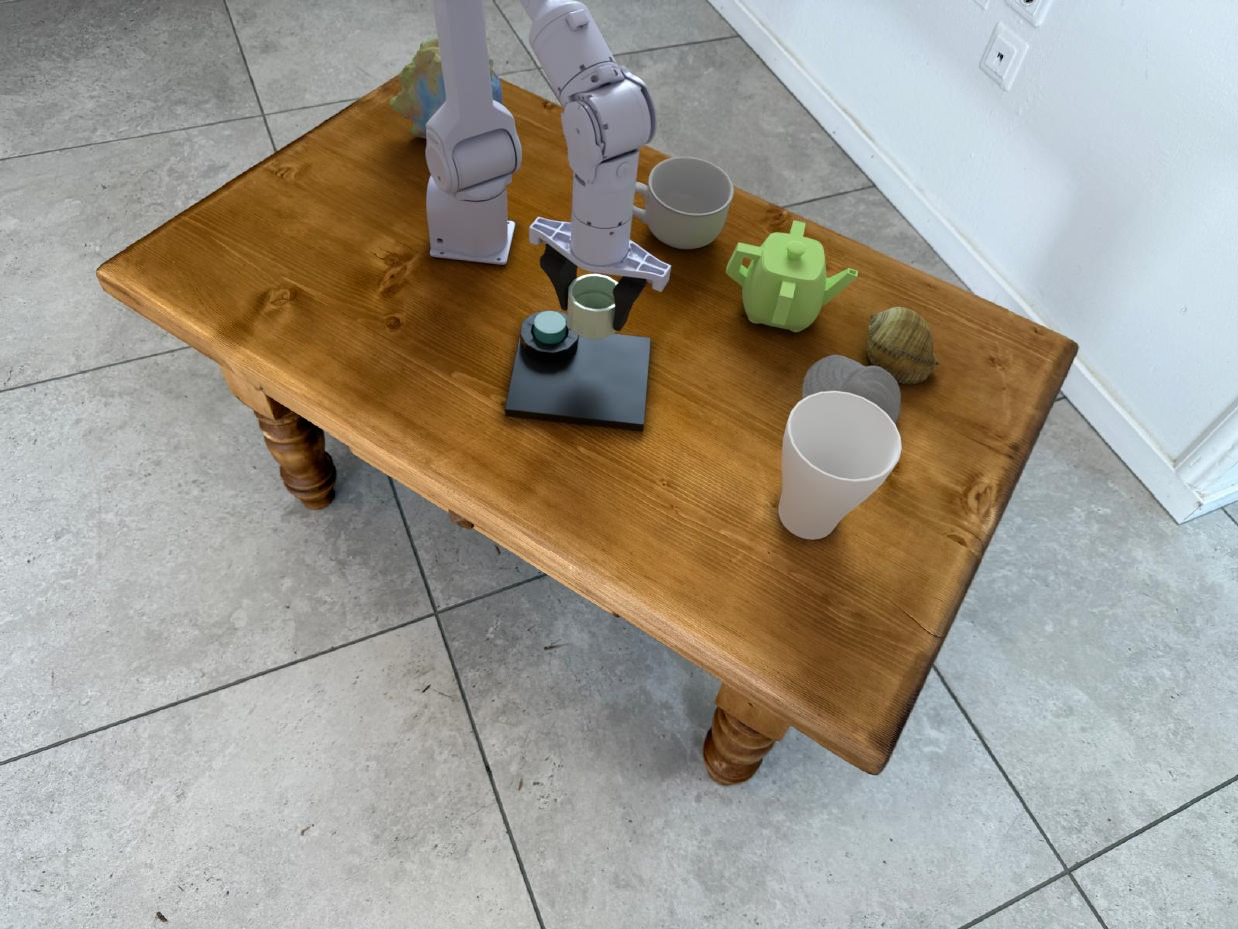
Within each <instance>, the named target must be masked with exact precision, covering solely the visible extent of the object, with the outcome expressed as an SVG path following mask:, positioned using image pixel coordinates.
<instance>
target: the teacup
mask: <svg viewBox="0 0 1238 929" xmlns="http://www.w3.org/2000/svg"><path fill="white" fill-rule="evenodd" d="M734 193H735V188H734V184H733V182H732V179H731V178H730V176H729V175H728V174H727V172H726V171H724V170H723V169H722V167H719V166H718V165H716V164H714V163H712V162H711V161H708V160H705V159H703V158H697V157H694V156H674V157H671V158H667V159H664V160H662V161H660V162H659V163H657V164H656V165H655V166H654V167H653V168H652V169H651V171H650V173H649V175H648V182H647V185H646V184H645V183H642V182H639V181H636V187H635V194H641V196H642V197H643V201H644V203H645V207H644V208H645V209H643V208H640V207H637V206H635V205H633V214H632V217H634V218H636V219H639V221H640V223H642V224H644V225H647V227H648V229H649V230H650V232H651V234H653V236H654V237H655V238H656V239H658V240H659V241H660V242H662V243H663V244H665V245H667V246H669V247H671V248H674V249H678V250H692V249H693V250H694V249H699V248H700V249H701V248H702V247H706V246H708V245H709V244H711V243H713V241H715V240H716V239H717V238H718V237H719V236H720V234H721V232H722V231H723V228H724V227H725V224H726V220H727V217H728V213H729V210H730V206H731V203H732V201H733V198H734Z"/></svg>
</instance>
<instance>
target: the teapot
mask: <svg viewBox="0 0 1238 929" xmlns="http://www.w3.org/2000/svg"><path fill="white" fill-rule="evenodd" d="M805 228H806V222H803V221H799V220H792V224H791V227H790V230H789V233H786V232H776V231H775V232H772V233H770V234H769V235H768V236H767V237H766V239H765V240H764V241H763V243H762V244H761V245H760V246H757V245H752V244H747V243H744V242H737V244H736V246H735V248H734V250H733V252H732V255H731V256H730V258H729V260H728V262H727V264H726V269H725V274H726V275H727V276H728V277H730V278H731V279H732V280H733V281H735V282H736V283H737V284H738V285H740V286H741V299H742V304H743V308H744V312H745V314H746V316H747V318H748V321H749V322H751V323H753V324H762V325H766V326H769V327H774V328H779V329H784V330H789V331H791V332H793V333H799V332H801V331H803V330H805V329H807V328H808V327H810V326H811V325H812V324H813V323H814V322H815V320H816V319H817V317H818V315H819V314H820V312H821V310H822V307H823V306H826V305H828V303H830V302H831V301H832V300H833V299H834V298H835V297H837V295H839V294H840V293H841V292H842V291H844V290H845V288H847V287H848V286H849V285H850V284H852V283H853V281H855V280H856V279H858V274H859V270H857V269H853V268H850V267H847V268H846V269H845V270H842V271H841V272H839V273H836V274H835V275H832V276H830V277H827V265H826V255H825V250H824V246H823V244H822V243H821V242H820V241H818V240H816V239H813V238H810V237H805V236H804V234H805ZM745 258H746V259H748V260H750V263H749V265H748V267H746V266H745V265H744V264H743V261H744V259H745Z"/></svg>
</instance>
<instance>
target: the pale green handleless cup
mask: <svg viewBox="0 0 1238 929" xmlns="http://www.w3.org/2000/svg"><path fill="white" fill-rule="evenodd" d="M618 282H619V281H617V280H615V279H613V278H612V277H610V276H608V275H606V274H601V273H589V274H582V275H581V276H578V277H577V278H576V279H574V281H573V282H572V283H571V285H570V286H569V289H568V309H567V314H566V315H567V323H568V325H569V327H570V328H571V330H572V331H573V332H574V333H576V334H578V335H579V336H581V337H584V338H588V339H601V338H607V337H608V336H610V335H612V334H616V333H617V331H616V330H614V329H613V322H614V315H615V301H614V296H613V289H614V287H615V286H616V285H617V283H618Z"/></svg>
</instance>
